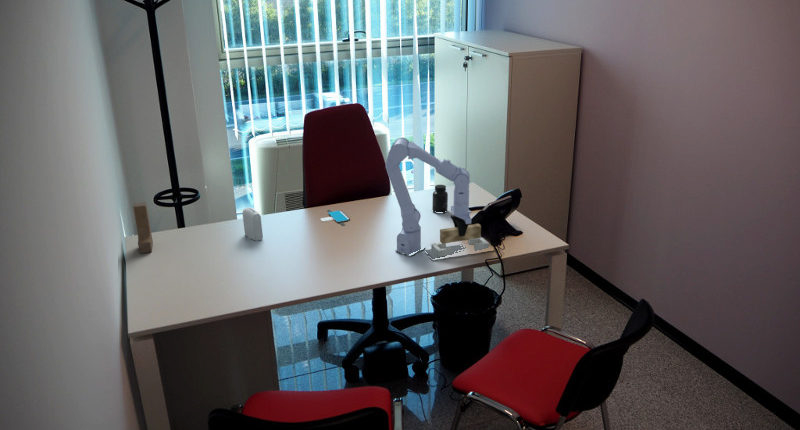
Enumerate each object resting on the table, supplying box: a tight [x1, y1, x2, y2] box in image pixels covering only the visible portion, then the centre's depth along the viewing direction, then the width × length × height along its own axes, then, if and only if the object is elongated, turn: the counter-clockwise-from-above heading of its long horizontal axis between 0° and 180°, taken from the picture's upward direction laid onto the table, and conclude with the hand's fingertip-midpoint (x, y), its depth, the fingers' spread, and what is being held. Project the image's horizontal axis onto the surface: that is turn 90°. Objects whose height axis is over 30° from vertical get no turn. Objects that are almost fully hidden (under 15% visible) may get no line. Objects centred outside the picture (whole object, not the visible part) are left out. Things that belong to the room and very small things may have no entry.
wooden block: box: [132, 201, 154, 254], centre depth 250 cm, size 9×4×18 cm, turn 16°
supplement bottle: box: [431, 184, 449, 212], centre depth 286 cm, size 7×7×12 cm
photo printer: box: [242, 207, 264, 242], centre depth 261 cm, size 10×4×12 cm, turn 39°
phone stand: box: [320, 209, 351, 226], centre depth 281 cm, size 20×12×2 cm, turn 25°
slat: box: [439, 223, 482, 244], centre depth 245 cm, size 16×2×5 cm, turn 109°
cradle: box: [424, 236, 490, 259], centre depth 247 cm, size 26×8×4 cm, turn 109°
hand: (460, 234), depth 245 cm, fingers closed on slat, 2 cm apart
